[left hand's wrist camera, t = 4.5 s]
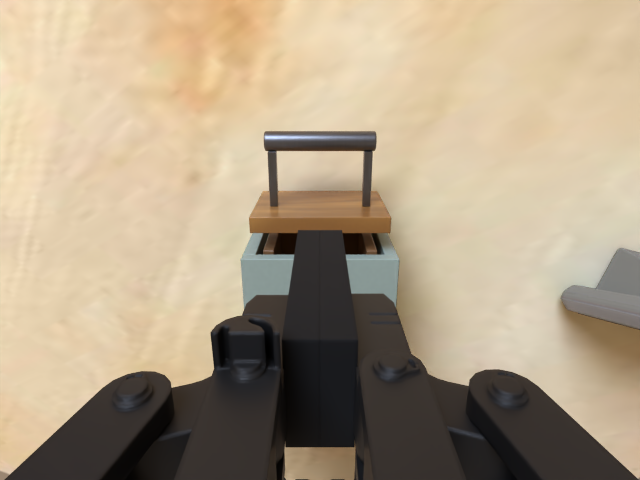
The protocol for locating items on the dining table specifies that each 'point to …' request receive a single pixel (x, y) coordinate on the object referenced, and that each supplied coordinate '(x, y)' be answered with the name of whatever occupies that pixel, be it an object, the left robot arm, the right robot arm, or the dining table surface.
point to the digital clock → (611, 292)
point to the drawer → (320, 197)
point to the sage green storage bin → (276, 270)
